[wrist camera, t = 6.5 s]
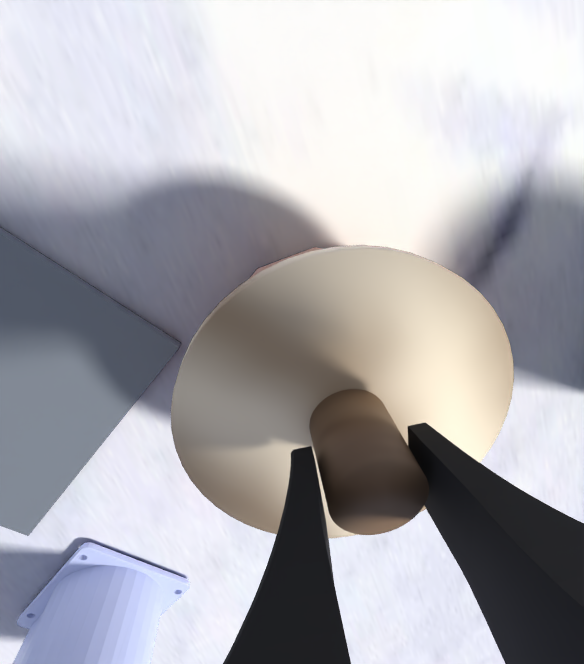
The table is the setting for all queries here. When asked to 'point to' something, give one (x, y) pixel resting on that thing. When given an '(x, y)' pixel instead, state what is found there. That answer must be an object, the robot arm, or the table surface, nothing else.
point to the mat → (61, 377)
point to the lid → (339, 385)
